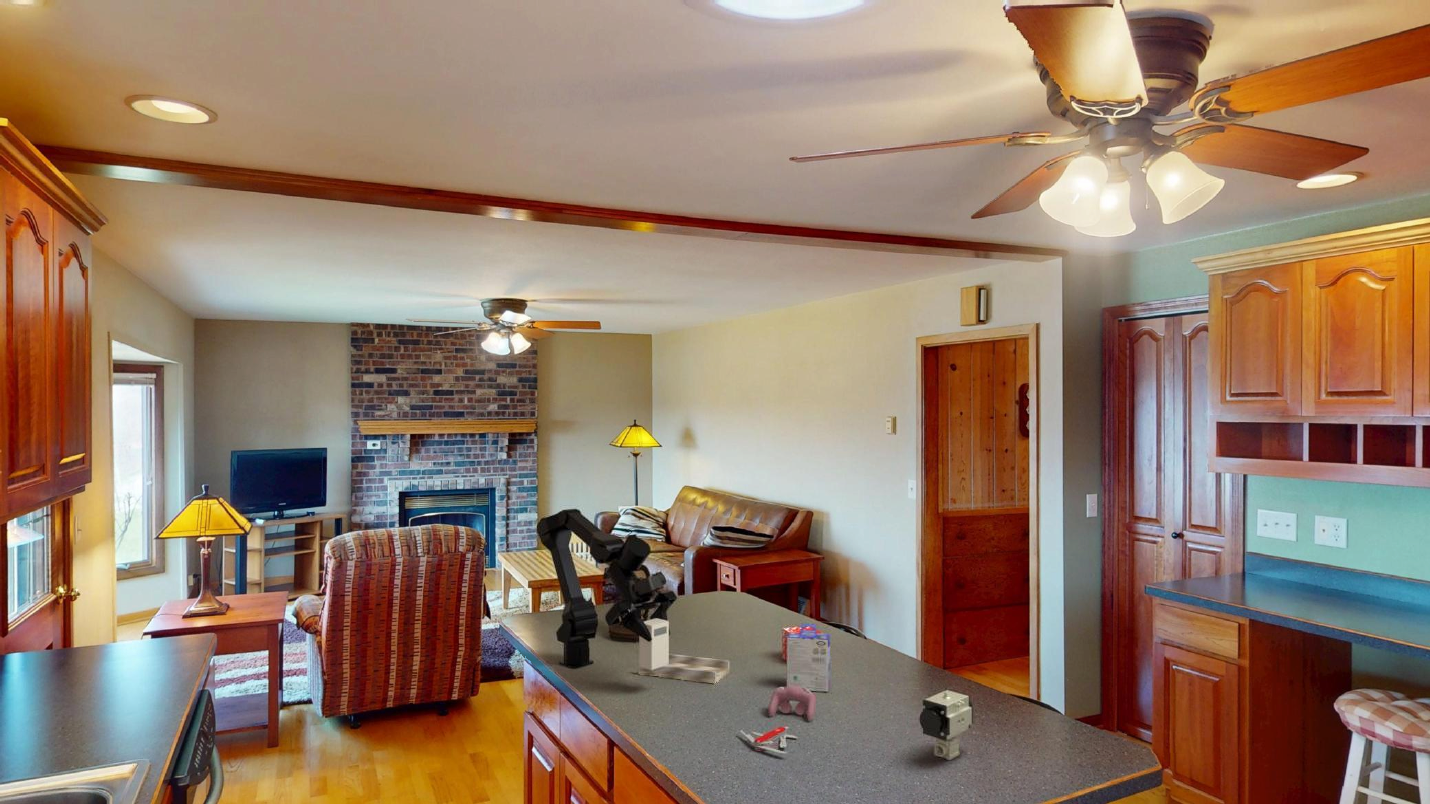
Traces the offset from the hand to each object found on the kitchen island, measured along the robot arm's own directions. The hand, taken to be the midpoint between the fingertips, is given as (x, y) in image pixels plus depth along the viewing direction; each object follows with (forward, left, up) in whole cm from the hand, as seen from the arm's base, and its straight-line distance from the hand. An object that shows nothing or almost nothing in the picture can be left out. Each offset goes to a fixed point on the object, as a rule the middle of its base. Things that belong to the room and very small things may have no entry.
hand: (659, 638), depth 191 cm
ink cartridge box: (+23, +26, -13) cm, 37 cm away
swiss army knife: (+36, -5, -13) cm, 39 cm away
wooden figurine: (-40, +30, -13) cm, 52 cm away
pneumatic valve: (+65, +11, -13) cm, 67 cm away
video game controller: (+31, +9, -13) cm, 35 cm away
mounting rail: (-6, +14, -13) cm, 20 cm away
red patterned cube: (+10, +42, -13) cm, 45 cm away
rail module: (-2, 0, -7) cm, 7 cm away
